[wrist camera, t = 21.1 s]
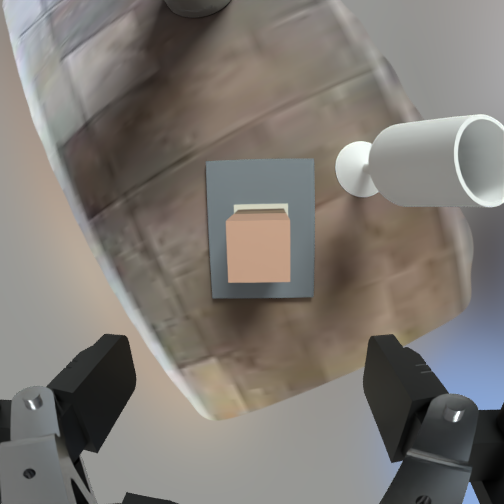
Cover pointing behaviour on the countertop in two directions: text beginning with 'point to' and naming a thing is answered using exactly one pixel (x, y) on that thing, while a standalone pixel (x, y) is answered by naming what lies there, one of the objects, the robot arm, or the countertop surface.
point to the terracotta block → (258, 248)
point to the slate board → (263, 197)
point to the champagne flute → (429, 163)
